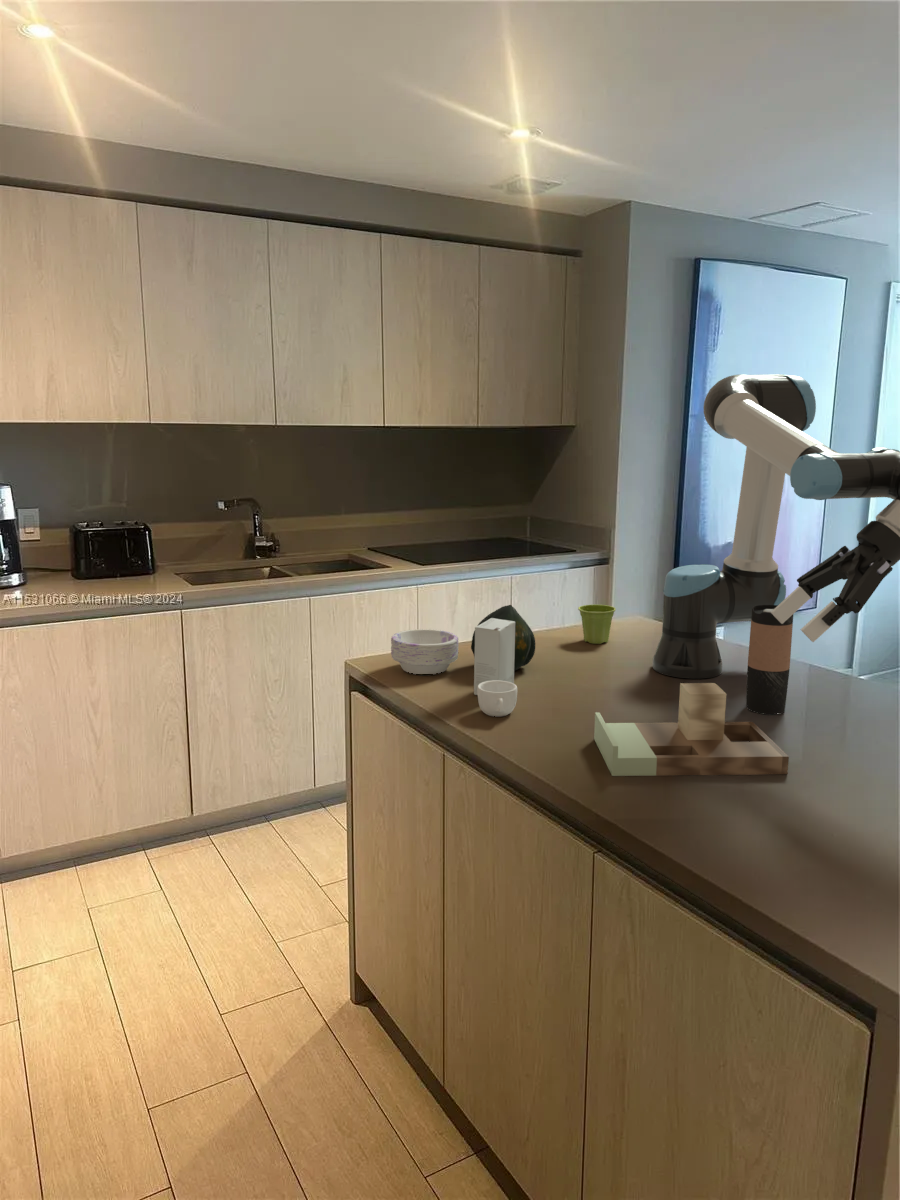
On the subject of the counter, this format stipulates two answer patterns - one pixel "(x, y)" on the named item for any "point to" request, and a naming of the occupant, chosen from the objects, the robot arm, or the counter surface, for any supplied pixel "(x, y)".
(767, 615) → the travel mug
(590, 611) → the plant pot
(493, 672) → the skincare box
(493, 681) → the teacup
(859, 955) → the counter surface
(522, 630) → the squash
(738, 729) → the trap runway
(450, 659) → the paper bowls
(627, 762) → the pad
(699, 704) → the maple block
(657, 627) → the counter surface
